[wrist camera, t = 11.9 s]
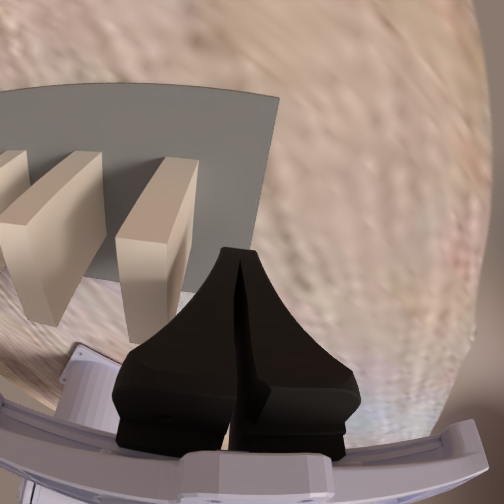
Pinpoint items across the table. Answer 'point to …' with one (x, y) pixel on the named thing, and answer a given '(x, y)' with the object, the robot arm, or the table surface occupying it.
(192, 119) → the slate mat
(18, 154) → the domino
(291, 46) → the table surface
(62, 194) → the domino
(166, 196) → the domino
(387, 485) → the robot arm
